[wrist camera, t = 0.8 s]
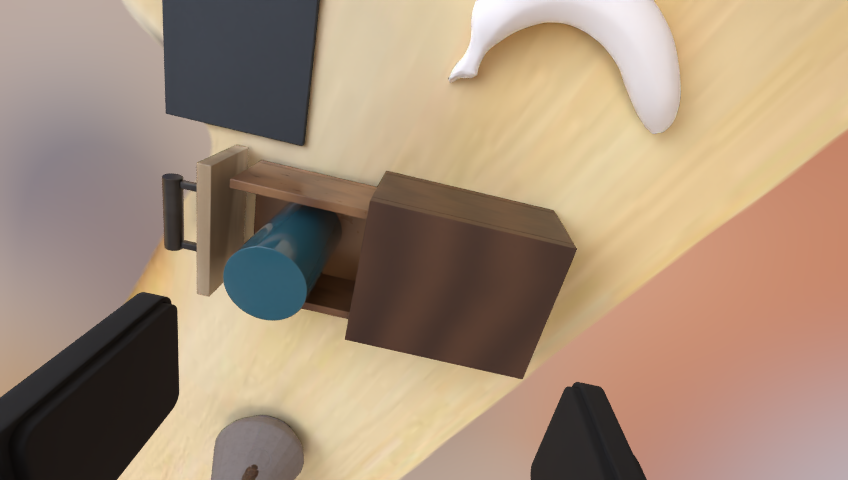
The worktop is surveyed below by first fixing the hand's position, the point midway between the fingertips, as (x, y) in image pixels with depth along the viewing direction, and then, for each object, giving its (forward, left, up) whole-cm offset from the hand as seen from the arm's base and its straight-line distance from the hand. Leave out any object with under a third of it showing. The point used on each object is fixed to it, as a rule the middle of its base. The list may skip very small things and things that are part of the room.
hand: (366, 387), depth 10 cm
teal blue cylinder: (+11, -10, -31) cm, 34 cm away
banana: (-8, +10, -33) cm, 35 cm away
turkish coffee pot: (+39, -11, -33) cm, 52 cm away
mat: (-3, -18, -33) cm, 37 cm away
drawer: (+11, -12, -32) cm, 36 cm away
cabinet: (+11, +5, -33) cm, 35 cm away
